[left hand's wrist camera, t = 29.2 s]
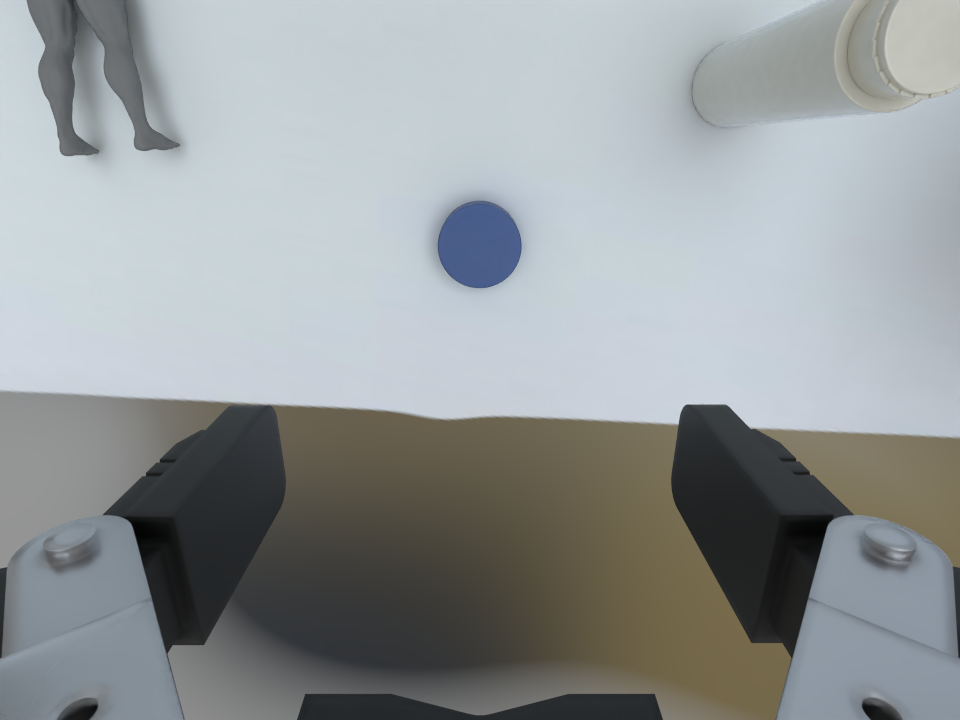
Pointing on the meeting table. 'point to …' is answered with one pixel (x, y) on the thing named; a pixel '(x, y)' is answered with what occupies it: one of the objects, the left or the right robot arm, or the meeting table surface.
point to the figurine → (110, 24)
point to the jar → (833, 63)
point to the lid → (479, 244)
